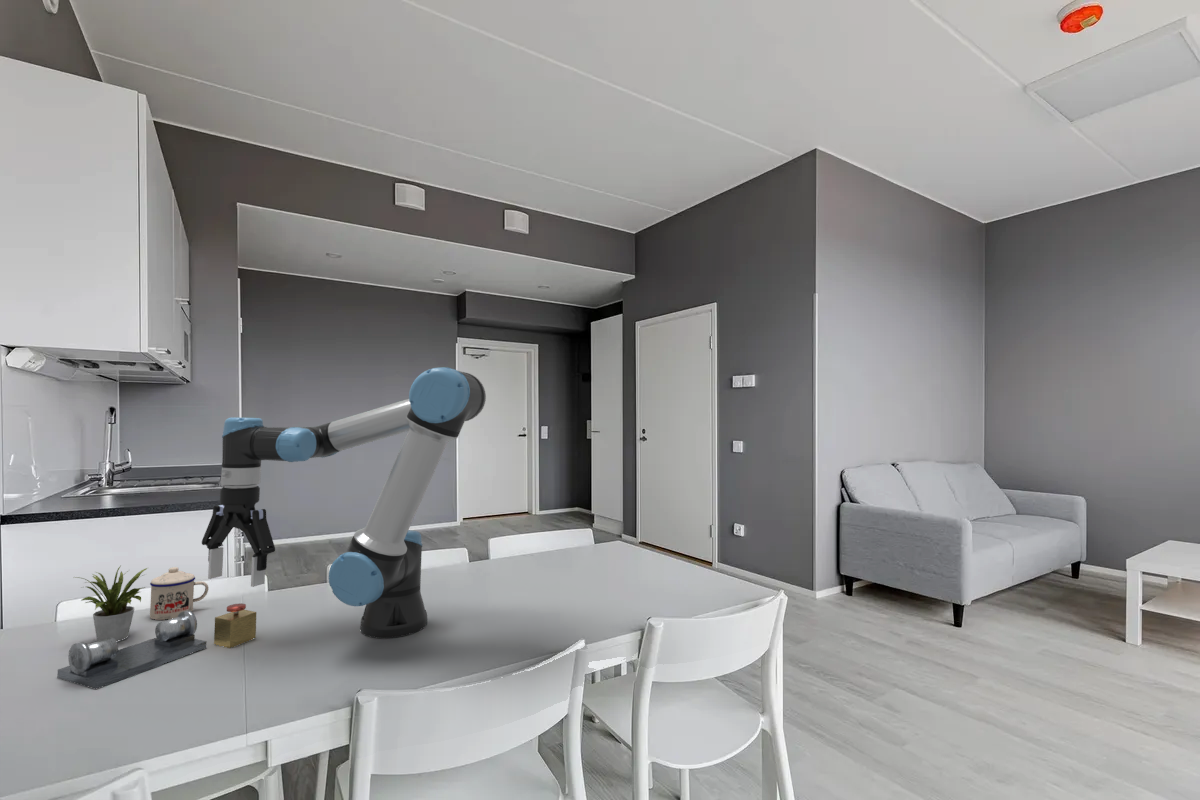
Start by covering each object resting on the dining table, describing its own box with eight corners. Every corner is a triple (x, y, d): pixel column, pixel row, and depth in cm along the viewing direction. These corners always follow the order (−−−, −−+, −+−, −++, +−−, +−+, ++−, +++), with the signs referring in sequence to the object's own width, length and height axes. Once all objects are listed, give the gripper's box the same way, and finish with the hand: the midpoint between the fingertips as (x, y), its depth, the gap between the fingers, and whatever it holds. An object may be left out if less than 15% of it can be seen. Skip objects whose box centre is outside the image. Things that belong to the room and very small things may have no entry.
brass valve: (240, 635, 129) (241, 600, 130) (255, 638, 127) (256, 603, 128) (213, 645, 124) (215, 608, 124) (229, 648, 122) (231, 611, 122)
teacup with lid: (148, 623, 136) (150, 574, 136) (148, 613, 143) (150, 566, 143) (209, 613, 143) (210, 567, 144) (206, 604, 150) (207, 560, 151)
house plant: (51, 659, 115) (55, 579, 116) (70, 637, 127) (73, 563, 127) (141, 645, 123) (144, 570, 123) (150, 625, 134) (153, 556, 135)
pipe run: (169, 639, 126) (171, 606, 126) (206, 648, 122) (207, 614, 122) (57, 677, 107) (59, 638, 108) (95, 689, 103) (97, 648, 103)
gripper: (186, 483, 128) (181, 578, 127) (265, 491, 119) (260, 593, 118) (218, 480, 135) (214, 570, 134) (295, 487, 126) (291, 583, 125)
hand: (235, 581), depth 126 cm, fingers open, 13 cm apart
